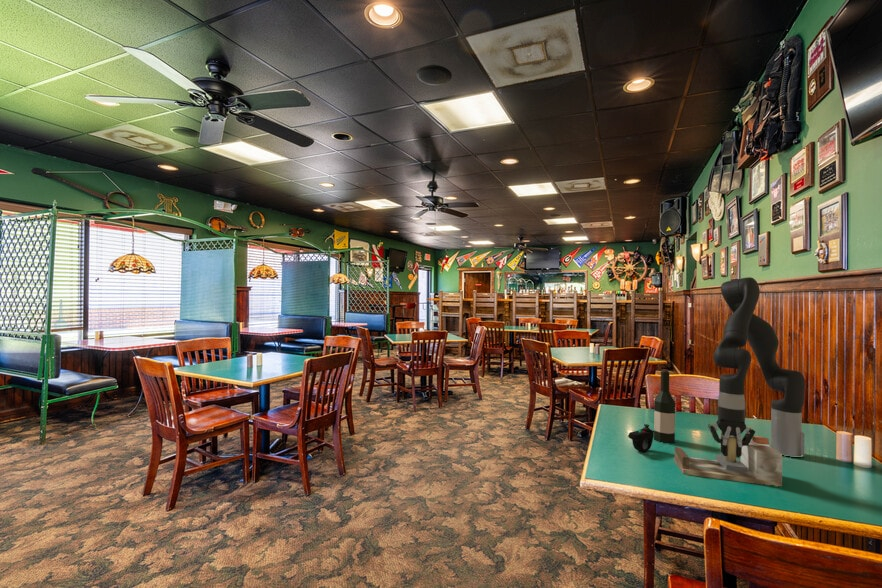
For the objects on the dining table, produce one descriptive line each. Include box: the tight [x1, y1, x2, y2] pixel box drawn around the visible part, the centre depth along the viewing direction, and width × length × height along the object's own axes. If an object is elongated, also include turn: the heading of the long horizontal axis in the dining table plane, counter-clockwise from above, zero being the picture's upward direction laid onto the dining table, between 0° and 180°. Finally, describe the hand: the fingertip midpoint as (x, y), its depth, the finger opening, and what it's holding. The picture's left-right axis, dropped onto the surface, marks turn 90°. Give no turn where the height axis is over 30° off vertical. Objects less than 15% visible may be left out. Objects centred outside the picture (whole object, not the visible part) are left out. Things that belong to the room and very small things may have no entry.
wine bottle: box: [653, 368, 676, 444], centre depth 171 cm, size 8×8×30 cm
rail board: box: [673, 439, 783, 487], centre depth 139 cm, size 28×12×10 cm, turn 73°
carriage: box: [714, 436, 748, 473], centre depth 138 cm, size 6×10×10 cm, turn 163°
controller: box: [627, 423, 654, 453], centre depth 157 cm, size 4×12×10 cm, turn 121°
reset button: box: [751, 435, 770, 445], centre depth 136 cm, size 4×4×1 cm
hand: (730, 455), depth 138 cm, fingers closed on carriage, 3 cm apart
